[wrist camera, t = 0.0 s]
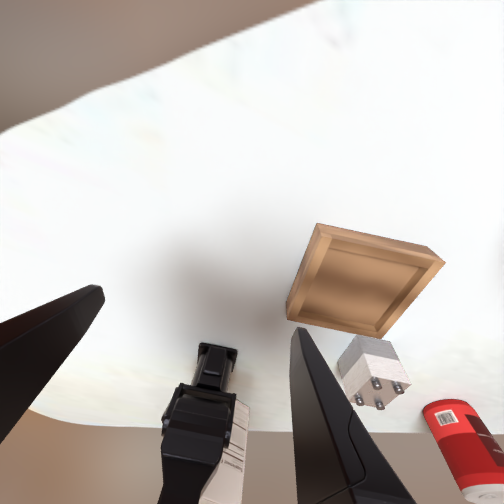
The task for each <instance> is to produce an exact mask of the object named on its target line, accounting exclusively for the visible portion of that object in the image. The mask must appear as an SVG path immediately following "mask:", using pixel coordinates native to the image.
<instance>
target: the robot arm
mask: <svg viewBox="0 0 504 504" xmlns="http://www.w3.org/2000/svg"><path fill="white" fill-rule="evenodd" d="M104 302H105V296H104V293H103V289H102V287H101V286H98V285H93V284H92V285H88V286H86V287H83V288H81V289H79V290H76V291H74V292H72V293H69V294H67V295H65V296H62V297H60V298H58V299H55V300H53V301H51V302H48V303H46V304H44V305H42V306H39V307H37V308H35V309H32V310H30V311H28V312H25V313H23V314H21V315H18V316H16V317H14V318H11V319H9V320H7V321H4V322H2V323H0V444H1V442H2V441H3V440H4V439H5V437H6V436H7V435H8V434H9V432H10V431H11V430H12V428H13V427H14V426H15V424H16V423H17V422H18V421H19V419H20V418H21V417H22V415H23V414H24V412H25V411H26V410H27V409H28V408H29V406H30V405H31V404H32V402H33V401H34V400H35V398H36V397H37V396H38V395H39V393H40V392H41V391H42V389H43V388H44V387H45V385H46V384H47V383H48V382H49V380H50V379H51V378H52V376H53V375H54V374H55V372H56V371H57V370H58V369H59V367H60V366H61V365H62V363H63V362H64V361H65V359H66V358H67V357H68V356H69V354H70V353H71V352H72V350H73V349H74V348H75V346H76V345H77V344H78V343H79V341H80V340H81V339H82V337H83V336H84V334H85V333H86V332H87V330H88V328H89V327H90V325H91V324H92V322H93V320H94V319H95V317H96V316H97V314H98V312H99V311H100V309H101V308H102V306H103V304H104ZM236 356H237V350H234V349H229V348H224V347H219V346H215V345H210V344H205V343H200V344H199V349H198V362H197V367H196V371H195V374H194V377H193V380H192V383H191V385H186V384H184V383H180V385H179V387H177V388H176V389H175V392H174V394H173V397H172V399H171V401H170V403H169V405H168V407H167V408H166V410H165V412H164V414H163V416H162V419H161V421H162V423H163V426H162V436H163V437H164V438H163V441H162V444H161V457H162V471H163V487H162V491H161V494H160V497H159V500H158V503H157V504H199V500H200V498H201V496H202V495H203V493H204V491H205V490H206V488H207V487H208V485H209V484H210V482H211V480H212V479H213V477H214V476H215V474H216V473H217V471H218V468H219V464H220V461H221V458H222V454H223V448H224V449H228V447H229V443H230V438H231V432H232V426H233V418H234V410H235V401H236V394H235V393H233V394H231V393H227V390H228V385H229V379H230V374H231V372H233V368H234V364H235V360H236ZM289 377H290V394H291V410H292V425H293V439H294V454H295V470H296V485H297V500H298V504H417V503H416V502H415V500H414V499H413V498H412V496H411V495H410V493H409V492H408V491H407V489H406V488H405V486H404V485H403V483H402V482H401V480H400V479H399V477H398V476H397V474H396V473H395V472H394V471H393V469H392V467H391V466H390V465H389V463H388V462H387V460H386V459H385V457H384V456H383V454H382V453H381V451H380V450H379V449H378V447H377V445H376V444H375V443H374V441H373V439H372V438H371V436H370V435H369V433H368V431H367V430H366V428H365V427H364V425H363V423H362V422H361V420H360V418H359V417H358V415H357V413H356V412H355V410H353V407H352V405H351V403H350V402H349V400H348V398H347V397H346V395H345V393H344V392H343V390H342V388H341V387H340V385H339V383H338V382H337V380H336V378H335V377H334V375H333V373H332V372H331V370H330V368H329V366H328V365H327V363H326V361H325V360H324V358H323V356H322V355H321V353H320V351H319V350H318V348H317V346H316V345H315V343H314V341H313V340H312V338H311V336H310V335H309V333H308V331H307V330H306V329H305V328H301V327H297V328H296V329H295V331H294V334H293V336H292V338H291V348H290V374H289Z"/></svg>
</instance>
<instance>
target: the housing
mask: <svg viewBox="0 0 504 504" xmlns="http://www.w3.org/2000/svg"><path fill="white" fill-rule="evenodd" d="M338 365H339V369H340V373H341V377H342V381H343V385H344V389H345V393H346V397H347V398H348V400H349V402H352V403H356V404H357V405H358V406H363V405H367V406H372V407H376V408H377V409H378V410H384V409H385V406H386V405H387V404H388V403H390V402H391V401H392V400H393V399H394V398H396V397H397V396H398V395H399V394H403V393H404V390H405V389H407V388H408V387H409V386H410V385H411V382H410V380H409V378H408V376H407V374H406V372H405V370H404V368H403V366H402V364H401V362H400V360H399V358H398V356H397V354H396V352H395V350H394V348H393V346H392V344H391V342H390V341H385V340H380V339H375V338H371V337H366V336H361V335H356V336H355V338H354V339H353V340H352V342H351V343H350V345H349V346H348V347H347V349H346V350H345V351H344V353H343V354H342V355H341V357H340V358H339V360H338Z"/></svg>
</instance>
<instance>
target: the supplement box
mask: <svg viewBox="0 0 504 504" xmlns="http://www.w3.org/2000/svg"><path fill="white" fill-rule="evenodd" d="M249 410H250V408H249V407H247V406H246V405H244V404H243V403H241V402H239V401H238V400H236V401H235V410H234V418H233V426H232V432H231V438H230V443H229V447H228V449H224V448H223V454H222V458H221V461H220V464H219V468H218V471H217V473H216V474H215V476H214V477H213V479H212V480H211V482H210V484H209V485H208V487H207V488H206V490H205V491H204V493H203V495H202V496H201V498H200V500H199V504H241V499H242V489H243V478H244V466H245V454H246V444H247V432H248V422H249Z"/></svg>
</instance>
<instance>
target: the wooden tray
mask: <svg viewBox="0 0 504 504" xmlns="http://www.w3.org/2000/svg"><path fill="white" fill-rule="evenodd" d="M445 263H446V262H445V261H443V260H442V259H441V258H440V257H439V256H437V255H436V254H435V253H434V252H433V251H432V250H430V249H429V248H428V247H427V246H422V245H418V244H413V243H408V242H404V241H399V240H394V239H390V238H385V237H380V236H376V235H371V234H367V233H362V232H357V231H353V230H348V229H343V228H339V227H334V226H329V225H325V224H320V223H317V224H316V226H315V229H314V231H313V234H312V237H311V239H310V242H309V244H308V247H307V249H306V252H305V255H304V257H303V260H302V262H301V265H300V268H299V270H298V273H297V275H296V278H295V281H294V283H293V286H292V288H291V291H290V293H289V296H288V299H287V301H286V309H287V320H291V321H295V322H300V323H305V324H310V325H315V326H320V327H324V328H329V329H334V330H339V331H344V332H349V333H353V334H358V335H363V336H368V337H373V338H377V339H382V337H383V336H384V335H385V334H386V333H387V332H388V330H389V329H390V328H391V327H392V326H393V324H394V323H395V322H396V321H397V320H398V319H399V317H400V316H401V315H402V314H403V313H404V311H405V310H406V309H407V308H408V307H409V306H410V304H411V303H412V302H413V301H414V300H415V298H416V297H417V296H418V295H419V294H420V293H421V291H422V290H423V289H424V288H425V287H426V286H427V284H428V283H429V282H430V281H431V280H432V278H433V277H434V276H435V275H436V274H437V273H438V271H439V270H440V269H441V268H442V267H443V265H444V264H445Z"/></svg>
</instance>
